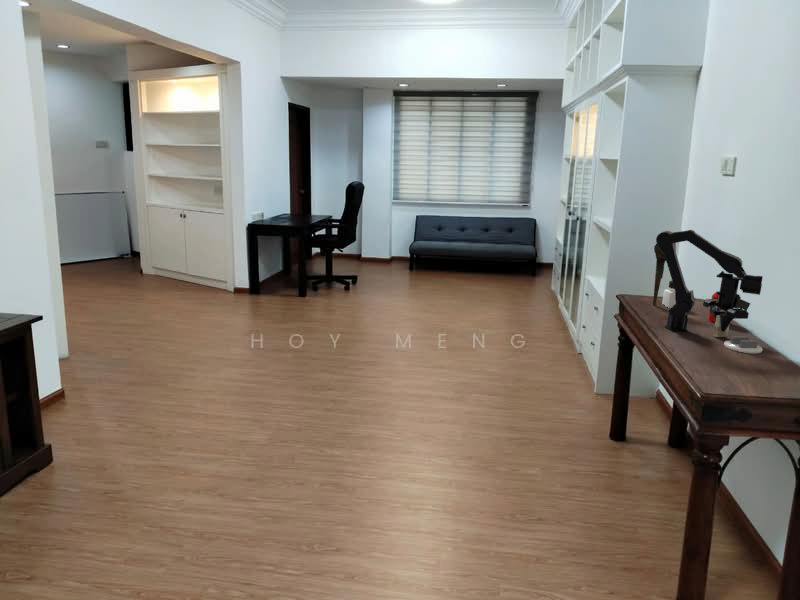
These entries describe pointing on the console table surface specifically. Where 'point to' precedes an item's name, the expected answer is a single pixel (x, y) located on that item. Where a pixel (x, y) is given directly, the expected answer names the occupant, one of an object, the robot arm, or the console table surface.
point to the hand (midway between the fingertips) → (721, 330)
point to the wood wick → (719, 328)
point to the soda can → (711, 318)
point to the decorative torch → (658, 270)
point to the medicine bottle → (669, 296)
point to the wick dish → (743, 345)
